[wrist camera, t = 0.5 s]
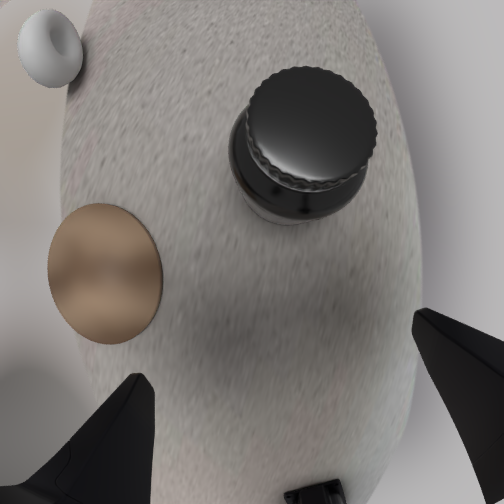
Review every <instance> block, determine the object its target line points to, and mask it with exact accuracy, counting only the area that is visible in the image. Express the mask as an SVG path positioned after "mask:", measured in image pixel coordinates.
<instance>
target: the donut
mask: <svg viewBox="0 0 504 504" xmlns="http://www.w3.org/2000/svg"><path fill="white" fill-rule="evenodd" d="M17 48H18V55H19V59H20V61H21V63H22V66H23V68H24V69H25V71H26V72H27V73H28V75H29V76H30V77H31V78H32V79H33V80H35V81H36V82H37V83H39V84H41V85H43V86H46V87H48V88H58V87H62V86H64V85H66V84H68V83H70V82H71V81H72V80H74V79H75V77H76V76H77V74H78V72H79V71H80V69H81V66H82V61H83V50H82V45H81V40H80V37H79V35H78V32H77V30H76V29H75V27H74V25H73V24H72V22H71V21H70V20H69V19H68V18H67V17H66V16H65V15H63V14H62V13H61V12H59V11H56V10H53V9H45V10H40V11H38V12H37V13H35V14H33V15H32V16H30V17H29V18H28V19H27V20H26V21H25V23H24V25H23V27H22V28H21V30H20V32H19V36H18V43H17Z"/></svg>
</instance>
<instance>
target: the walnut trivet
mask: <svg viewBox="0 0 504 504" xmlns="http://www.w3.org/2000/svg"><path fill="white" fill-rule="evenodd" d="M48 280H49V286H50V289H51V294H52V297H53V299H54V302H55V304H56V306H57V308H58V310H59V312H60V313H61V315H62V316H63V318H64V319H65V320H66V322H67V323H68V324H69V325H70V326H71V327H72V328H73V329H74V330H75V331H76V332H78V333H79V334H80V335H82V336H83V337H85V338H87V339H89V340H91V341H94V342H97V343H101V344H119V343H123V342H126V341H128V340H130V339H132V338H134V337H135V336H136V335H138V334H139V333H140V332H141V331H143V330H144V329H145V328H146V327H147V326H148V324H149V323H150V322H151V320H152V319H153V317H154V315H155V313H156V311H157V309H158V306H159V303H160V299H161V294H162V285H163V275H162V266H161V261H160V257H159V253H158V250H157V248H156V245H155V243H154V241H153V239H152V237H151V235H150V234H149V232H148V231H147V229H146V228H145V227H144V225H143V224H142V223H141V222H140V221H139V220H138V219H137V218H136V217H135V216H133V215H132V214H131V213H129V212H127V211H126V210H124V209H122V208H119V207H116V206H112V205H108V204H99V203H98V204H90V205H86V206H83V207H81V208H78V209H77V210H75V211H74V212H72V213H71V214H70V215H69V216H67V217H66V218H65V220H64V221H63V222H62V223H61V225H60V226H59V228H58V229H57V231H56V233H55V235H54V237H53V240H52V243H51V246H50V250H49V256H48Z"/></svg>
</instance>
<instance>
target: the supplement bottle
mask: <svg viewBox="0 0 504 504" xmlns="http://www.w3.org/2000/svg"><path fill="white" fill-rule="evenodd" d="M376 123H377V122H376V120H375V118H374V112H373V110H372V108H371V107H370V106H369V102H368V100H367V99H366V98H365V97H364V96H363V95H362V92H361V91H360V90H359V89H357V88H356V87H355V86H354V85H353V84H352V82H350V81H347V80H345V79H344V78H343V77H342V76H341V75H338V74H335V73H333V72H332V71H330V70H323V69H321V68H319V67H313V68H312V67H309V66H303V67H292V68H290V69H282V70H281V71H280V72H279V73H274V74H272V75H271V76H270V77H269V78H268V79H266V80H264V81H262V83H261V86H259V87H258V88H256V89H255V92H254V95H253V96H252V97H251V98H250V100H249V104H248V105H247V106H246V107H245V108H244V109H243V111H242V112H241V113H240V115H239V116H238V118H237V119H236V121H235V123H234V125H233V128H232V131H231V134H230V138H229V145H228V154H229V162H230V166H231V170H232V173H233V176H234V178H235V180H236V183H237V185H238V187H239V189H240V191H241V193H242V195H243V197H244V199H245V201H246V202H247V204H248V205H249V207H250V208H251V209H252V210H253V211H254V212H255V213H256V214H257V215H259V216H260V217H262V218H263V219H265V220H267V221H269V222H272V223H275V224H280V225H295V224H300V223H305V222H309V221H313V220H318V219H321V218H324V217H327V216H329V215H332V214H334V213H335V212H337V211H339V210H341V209H342V208H343V207H345V206H346V205H347V204H348V203H349V202H350V201H351V200H352V199H353V198H354V197H355V196H356V194H357V193H358V192H359V190H360V188H361V186H362V184H363V182H364V180H365V177H366V174H367V169H368V159H370V158H371V157H372V155H373V149H374V147H375V146H376V136H377V134H378V133H377V130H376Z"/></svg>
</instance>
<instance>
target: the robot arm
mask: <svg viewBox="0 0 504 504" xmlns="http://www.w3.org/2000/svg"><path fill="white" fill-rule="evenodd" d="M412 336H413V338H414V340H415V343H416V345H417V347H418V350H419V352H420V354H421V356H422V359H423V361H424V364H425V366H426V368H427V371H428V373H429V375H430V377H431V379H432V380H433V382H434V384H435V386H436V388H437V390H438V392H439V394H440V396H441V397H442V399H443V401H444V403H445V405H446V407H447V409H448V411H449V413H450V415H451V418H452V419H453V422H454V424H455V426H456V428H457V430H458V432H459V435H460V437H461V439H462V441H463V444H464V446H465V448H466V451H467V453H468V455H469V458H470V460H471V463H472V465H473V468H474V471H475V473H476V476H477V479H478V481H479V484H480V487H481V490H482V493H483V496H484V499H485V502H486V504H495V503H496V502H498V501H500V500H502V499H504V341H501V340H499V339H497V338H495V337H493V336H490V335H488V334H486V333H484V332H481V331H479V330H477V329H475V328H472V327H470V326H468V325H466V324H463V323H461V322H459V321H457V320H454V319H452V318H449V317H447V316H445V315H443V314H440V313H438V312H436V311H433V310H431V309H429V308H422V309H419V310H417V311H415V313H414V317H413V324H412ZM154 436H155V392H154V389H153V387H152V386H151V384H150V383H149V381H148V380H147V379H146V377H145V376H144V375H143V374H142V373H132V374H130V375H129V376H128V377H127V378H126V379H125V380H124V381H123V382H122V383H121V385H120V386H119V387H118V388H117V389H116V390H115V391H114V392H113V393H112V394H111V395H110V396H109V397H108V399H107V400H106V401H105V402H104V403H103V404H102V405H101V406H100V407H99V408H98V409H97V410H96V412H95V413H94V414H93V415H92V416H91V417H90V418H89V419H88V420H87V421H86V422H85V423H84V424H83V426H82V427H81V428H80V429H79V430H78V431H77V432H76V433H75V434H74V435H73V436H72V437H71V439H70V441H68V442H67V443H66V444H65V445H64V446H63V447H62V448H61V449H60V450H59V451H58V452H57V453H56V454H55V455H54V456H53V457H52V458H51V459H50V460H49V461H48V462H47V463H46V464H45V465H44V466H42V467H41V468H40V469H39V470H38V471H37V472H36V473H35V474H33V475H32V476H31V477H30V478H29V479H28V480H26V481H25V482H23V483H21V484H18V485H12V486H0V504H150V496H151V475H152V460H153V447H154ZM284 499H285V500H286V502H287V504H346V500H345V496H344V492H343V489H342V485H341V481H340V480H334V481H331V482H327V483H324V484H320V485H317V486H313V487H309V488H305V489H301V490H297V491H292V492H288V493H285V494H284Z"/></svg>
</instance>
